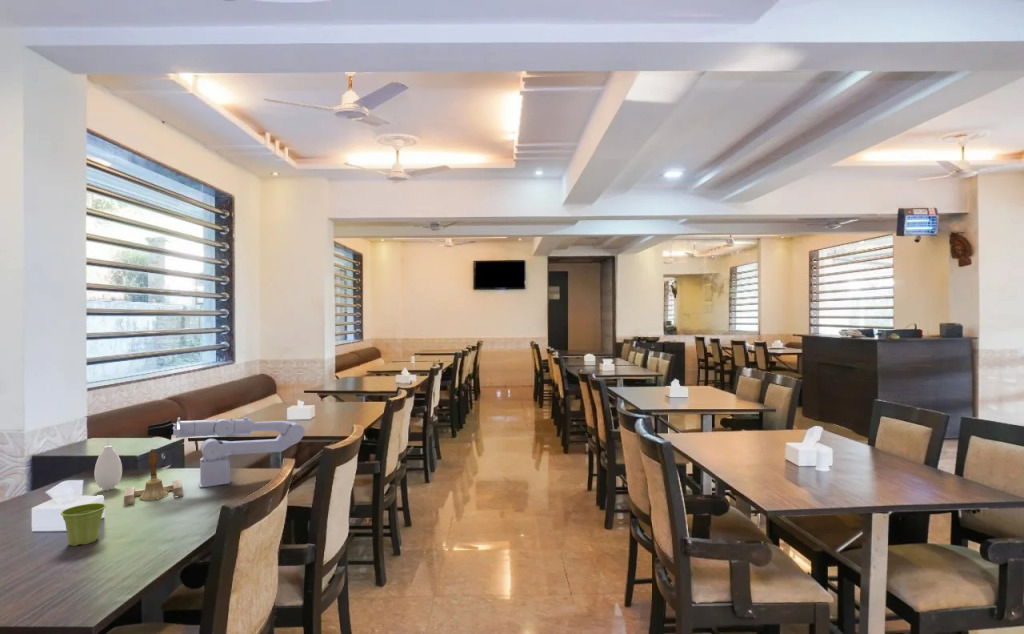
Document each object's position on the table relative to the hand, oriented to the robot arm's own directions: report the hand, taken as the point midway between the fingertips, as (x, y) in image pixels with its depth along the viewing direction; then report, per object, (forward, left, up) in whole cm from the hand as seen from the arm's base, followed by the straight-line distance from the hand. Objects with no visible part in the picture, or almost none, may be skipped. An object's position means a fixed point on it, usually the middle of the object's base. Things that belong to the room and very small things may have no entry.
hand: (147, 430), depth 188 cm
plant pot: (+14, +42, -22) cm, 49 cm away
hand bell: (-2, +6, -22) cm, 23 cm away
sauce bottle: (+12, -15, -22) cm, 29 cm away
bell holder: (-2, +6, -22) cm, 22 cm away
